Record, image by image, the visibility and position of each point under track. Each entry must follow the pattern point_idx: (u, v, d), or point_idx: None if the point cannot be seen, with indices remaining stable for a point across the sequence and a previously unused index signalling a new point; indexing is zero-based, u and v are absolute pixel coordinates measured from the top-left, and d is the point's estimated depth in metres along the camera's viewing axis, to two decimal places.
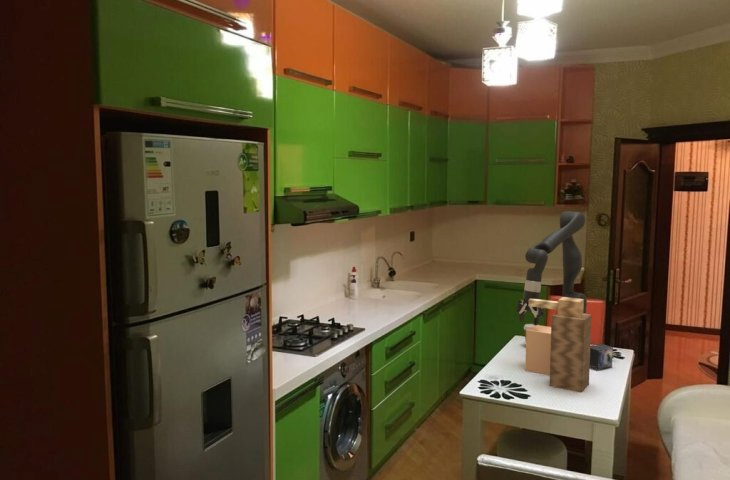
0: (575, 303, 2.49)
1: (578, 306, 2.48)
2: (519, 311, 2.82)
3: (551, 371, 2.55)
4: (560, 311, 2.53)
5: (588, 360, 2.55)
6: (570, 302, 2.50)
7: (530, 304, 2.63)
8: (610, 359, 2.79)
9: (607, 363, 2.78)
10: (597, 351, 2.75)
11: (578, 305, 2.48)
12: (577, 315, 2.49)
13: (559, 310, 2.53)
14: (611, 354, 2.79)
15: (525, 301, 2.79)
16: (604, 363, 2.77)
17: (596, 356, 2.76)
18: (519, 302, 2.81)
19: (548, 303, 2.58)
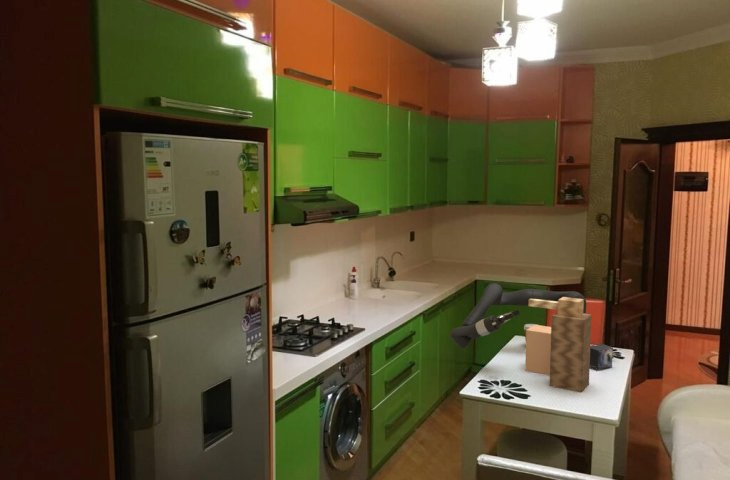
0: (575, 303, 2.49)
1: (578, 306, 2.48)
2: None
3: (551, 371, 2.55)
4: (560, 311, 2.53)
5: (588, 360, 2.55)
6: (570, 302, 2.50)
7: (530, 304, 2.63)
8: (610, 359, 2.79)
9: (607, 363, 2.78)
10: (597, 351, 2.75)
11: (578, 305, 2.48)
12: (577, 315, 2.49)
13: (559, 310, 2.53)
14: (611, 354, 2.79)
15: None
16: (604, 363, 2.77)
17: (596, 356, 2.76)
18: None
19: (548, 303, 2.58)
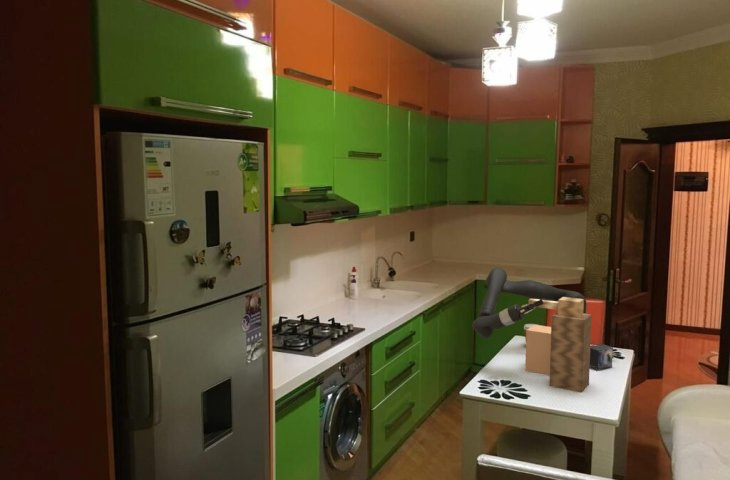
0: (575, 303, 2.49)
1: (578, 306, 2.48)
2: None
3: (551, 371, 2.55)
4: (560, 311, 2.53)
5: (588, 360, 2.55)
6: (570, 302, 2.50)
7: None
8: (610, 359, 2.79)
9: (607, 363, 2.78)
10: (597, 351, 2.75)
11: (578, 305, 2.48)
12: (577, 315, 2.49)
13: (559, 310, 2.53)
14: (611, 354, 2.79)
15: None
16: (604, 363, 2.77)
17: (596, 356, 2.76)
18: None
19: (548, 303, 2.58)
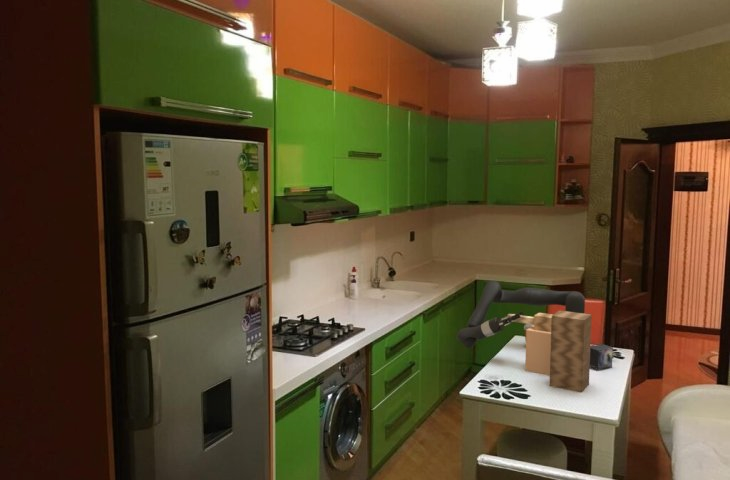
0: (549, 319, 2.70)
1: None
2: None
3: (551, 371, 2.55)
4: (535, 326, 2.74)
5: (588, 360, 2.55)
6: (545, 318, 2.71)
7: None
8: (610, 359, 2.79)
9: (607, 363, 2.78)
10: (597, 351, 2.75)
11: None
12: None
13: (535, 325, 2.75)
14: (611, 354, 2.79)
15: None
16: (604, 363, 2.77)
17: (596, 356, 2.76)
18: None
19: (525, 318, 2.79)
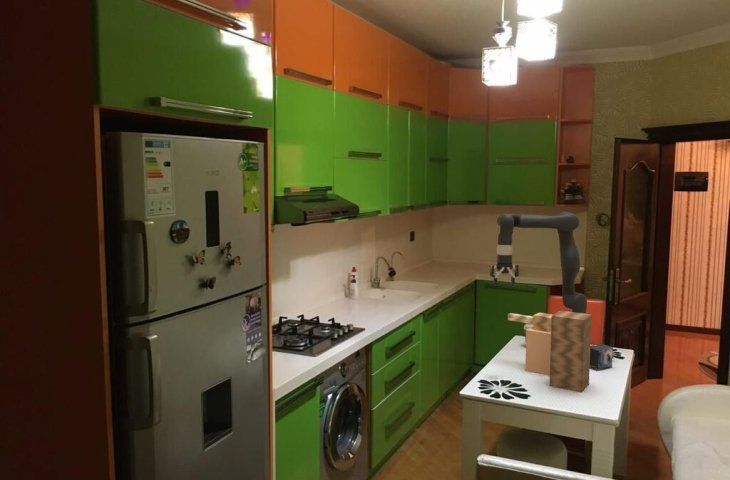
0: (548, 319, 2.70)
1: (550, 321, 2.70)
2: None
3: (551, 371, 2.55)
4: (534, 325, 2.75)
5: (588, 360, 2.55)
6: (543, 318, 2.72)
7: (509, 318, 2.85)
8: (610, 359, 2.79)
9: (607, 363, 2.78)
10: (597, 351, 2.75)
11: (550, 321, 2.70)
12: (549, 330, 2.70)
13: (534, 325, 2.75)
14: (611, 354, 2.79)
15: None
16: (604, 363, 2.77)
17: (596, 356, 2.76)
18: None
19: (525, 318, 2.80)
